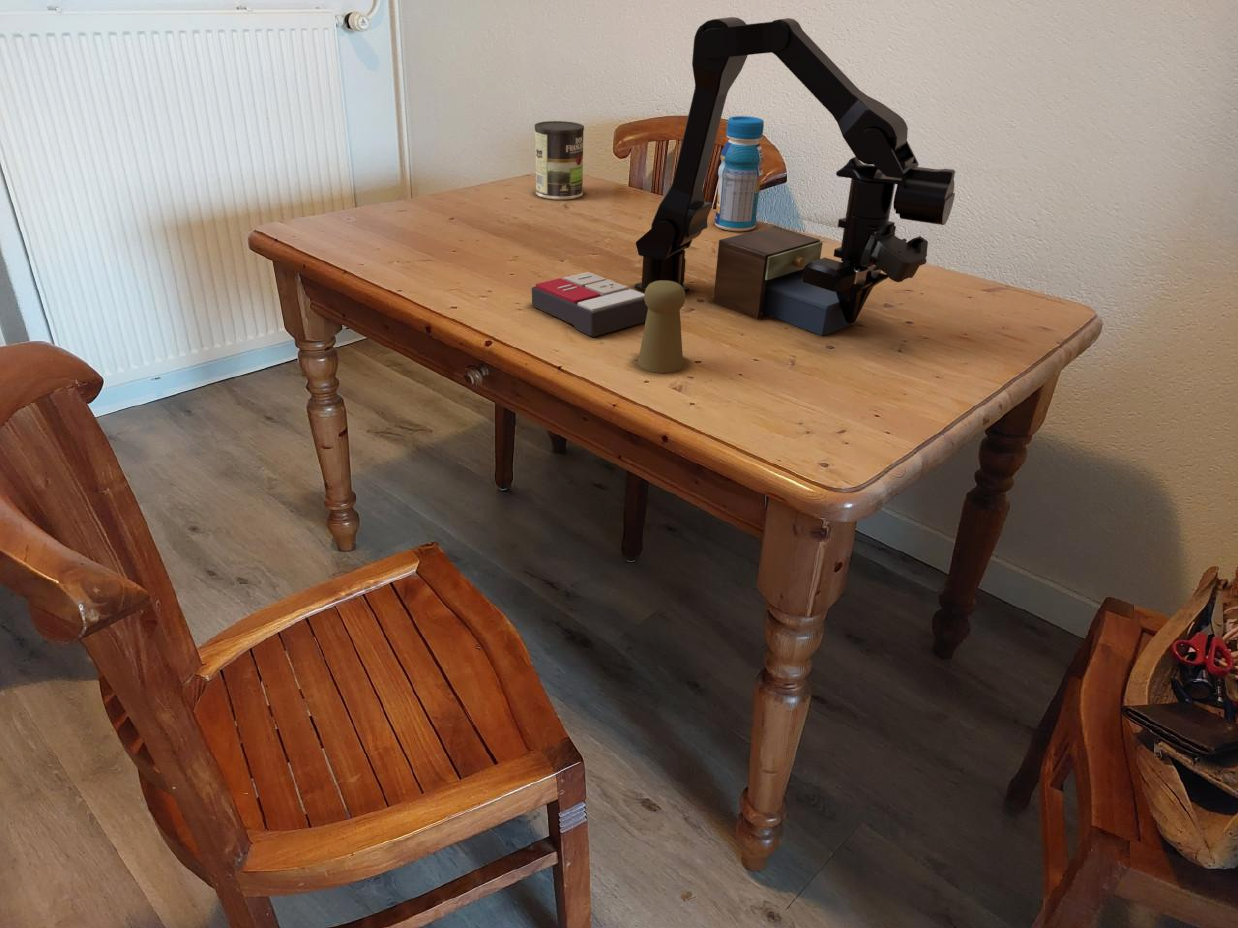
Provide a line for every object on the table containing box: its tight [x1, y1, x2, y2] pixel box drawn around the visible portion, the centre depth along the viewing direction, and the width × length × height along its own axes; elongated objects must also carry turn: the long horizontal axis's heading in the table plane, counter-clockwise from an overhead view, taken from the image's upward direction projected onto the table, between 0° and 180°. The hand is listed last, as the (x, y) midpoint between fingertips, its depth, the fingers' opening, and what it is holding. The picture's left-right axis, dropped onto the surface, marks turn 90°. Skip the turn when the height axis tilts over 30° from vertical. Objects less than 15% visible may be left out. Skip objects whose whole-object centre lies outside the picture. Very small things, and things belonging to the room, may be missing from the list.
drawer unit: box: [712, 225, 821, 320], centre depth 134 cm, size 13×9×10 cm
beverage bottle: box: [714, 115, 765, 232], centre depth 167 cm, size 8×8×20 cm
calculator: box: [531, 271, 648, 337], centre depth 129 cm, size 11×4×15 cm
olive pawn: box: [637, 280, 686, 374], centre depth 113 cm, size 6×6×11 cm
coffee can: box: [534, 120, 585, 201], centre depth 185 cm, size 10×10×14 cm
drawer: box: [765, 241, 824, 280], centre depth 132 cm, size 13×10×3 cm
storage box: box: [762, 272, 854, 336], centre depth 130 cm, size 8×12×5 cm
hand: (850, 322), depth 126 cm, fingers closed, pressing on storage box
